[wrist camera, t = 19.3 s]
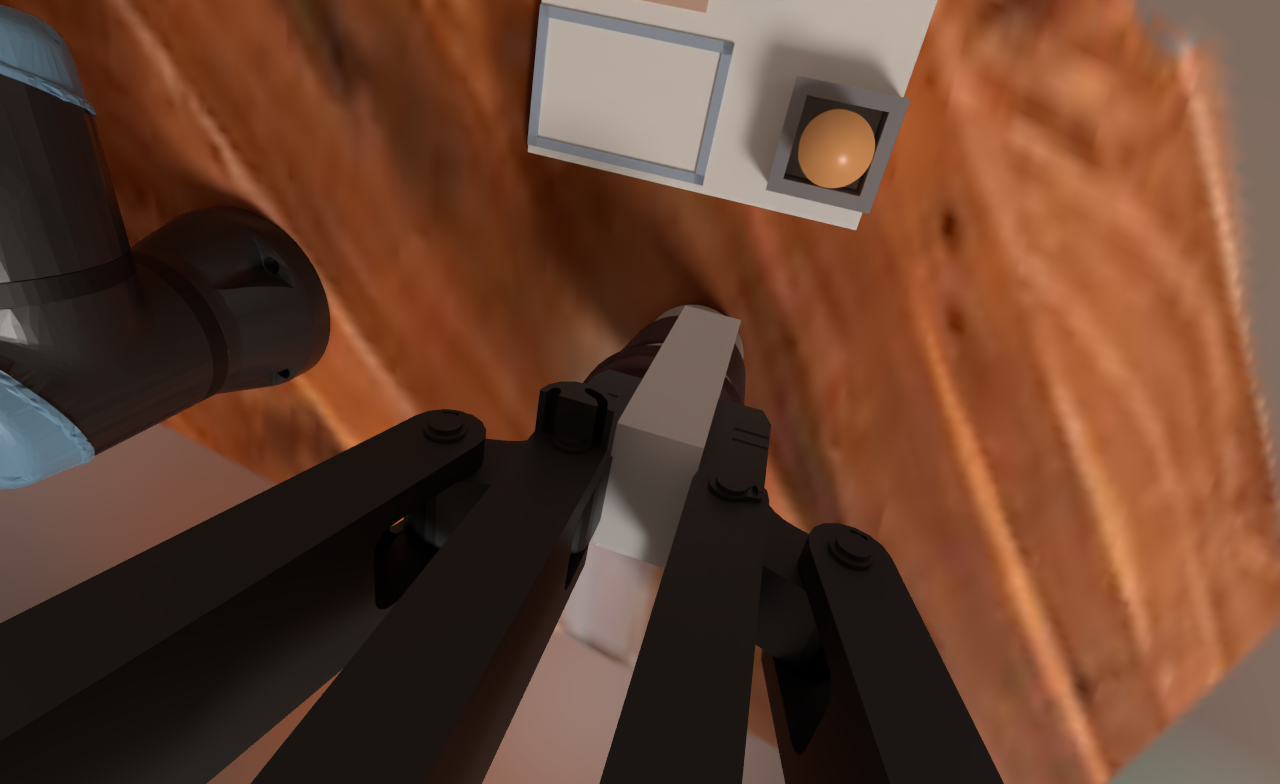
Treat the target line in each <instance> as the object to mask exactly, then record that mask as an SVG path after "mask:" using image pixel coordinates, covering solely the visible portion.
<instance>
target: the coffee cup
mask: <svg viewBox="0 0 1280 784" xmlns="http://www.w3.org/2000/svg"><path fill="white" fill-rule="evenodd" d="M686 306H690V307H693V308H697V309H701V310H705V311H709V312H712V313H716V314H720V315H723V314H721V313H719V312H718V311H716V310H714V309H711V308H709V307H706V306H701V305H686ZM684 307H685V305H682V306H678V307H674V308H672V309H670V310H668V311H666V312H664V313H663V314H661V315H660V316H659V317H658V318H657V319H656V320H655V321H654V322H652V323H651V324H649V325H648V326H646V327H645V328H644V329H642V330H641V331H640V332H639V333H638V334H637V335H636V336H635V337H634V338H633V339H632V340H631V341H630V342H629V343H628V344H627V345H626V346H625V347H624V348H623V349H622V350H621V351H620V352H618V353H616V354H614V355H612V356H610V357H608V358H607V359H606V360H604V361H603V362H601V363H600V364H599V365H598V366H597V367H596V368H595V369H594V370H593V371H592V372H591V373H590V375H589V376H588V377H587V378H586V380H585V381H584V382H583V383H585V384H588V383H589V381H590V380H591V379H592V377H593V376H595V375H597V374H599V373H602V372H604V371H606V370H609V369H610V370H614V371H617V372H621V373H624V374H628V375H631V376H635V377H639V378H642V379H643V377H644V376H645V374H646V372H647V371H648V369H649V367H650V365H651V364H652V362H653V360H654V359H655V357H656V355H657V353H658V352H659V350H660V348H661V346H662V345H663V343H664V341H665V340H666V338H667V336H668V334H669V333H670V331H671V329H672V328H673V326H674V324H675V322H676V321H677V319H678V317H679V315H680V314H681V312H682V310H683V309H684ZM743 356H744V353H743V344H742V341H741V338H740V335H739V333H737V337H736V340H735V344H734V347H733V351H732V354H731V358H730V361H729V365H728V368H727V372H726V375H725V379H724V382H723V386H722V389H721V393H720V396H719V399H723V400H726V401H730V402H733V403H737V404H740V405H744V398H745V367H744V362H743Z"/></svg>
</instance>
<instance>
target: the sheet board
mask: <svg viewBox="0 0 1280 784" xmlns="http://www.w3.org/2000/svg"><path fill="white" fill-rule="evenodd" d="M936 3H937V0H542V3H541V4H540V10H539V21H538V32H537V43H536V54H535V65H534V76H533V87H532V98H531V109H530V120H529V131H528V142H527V144H528V152H530V153H534V154H538V155H542V156H547V157H551V158H555V159H559V160H563V161H568V162H572V163H576V164H580V165H584V166H589V167H593V168H597V169H601V170H605V171H610V172H614V173H618V174H622V175H626V176H631V177H635V178H639V179H643V180H647V181H652V182H656V183H660V184H664V185H668V186H673V187H677V188H681V189H685V190H689V191H694V192H698V193H702V194H706V195H710V196H714V197H719V198H723V199H727V200H731V201H735V202H740V203H744V204H748V205H752V206H756V207H761V208H765V209H769V210H773V211H777V212H782V213H786V214H790V215H794V216H798V217H803V218H807V219H811V220H815V221H819V222H824V223H828V224H832V225H836V226H840V227H845V228H849V229H853V230H856V229H857V226H858V223H859V220H860V218H861V215H862V213H866V214H869V213H870V210H871V208H872V205H873V202H874V199H875V196H876V194H877V191H878V188H879V185H880V183H881V180H882V177H883V174H884V171H885V169H886V166H887V163H888V160H889V158H890V155H891V152H892V149H893V146H894V144H895V141H896V138H897V135H898V133H899V130H900V127H901V124H902V121H903V119H904V116H905V113H906V110H907V108H908V105H909V102H910V99H908V98H903V96H904V93H905V91H906V88H907V85H908V82H909V79H910V77H911V74H912V71H913V68H914V65H915V62H916V60H917V57H918V54H919V51H920V48H921V45H922V43H923V40H924V37H925V34H926V31H927V29H928V26H929V23H930V20H931V17H932V14H933V12H934V9H935V6H936ZM833 108H841V109H845V110H849V111H852V112H855V113H857V114H859V115H860V116H862V117H863V118H864V119H865V120H866V121H867V122H868V124H869V125H870V127H871V129H872V131H873V134H874V139H875V150H874V155H873V158H872V161H871V163H870V165H869V167H868V168H867V170H866V171H865V172H864V173H863V175H862V176H861V177H859V178H858V179H857V180H856V181H854V182H853V183H851V184H849V185H846V186H844V187H839V188H825V187H821V186H818V185H816V184H814V183H813V182H811V181H810V180H809V179H808V178H807V177H806V176H805V174H804V173H803V171H802V169H801V167H800V163H799V158H798V149H799V141H800V137H801V134H802V131H803V129H804V128H805V126H806V124H807V123H808V122H809V121H810V120H811V119H812V118H813V117H814V116H815V115H817V114H818V113H820V112H822V111H825V110H828V109H833Z"/></svg>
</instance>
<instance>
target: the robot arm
mask: <svg viewBox="0 0 1280 784" xmlns="http://www.w3.org/2000/svg"><path fill="white" fill-rule="evenodd" d="M94 116H97V114H96V110H95V108H94V106H93V105H92V104H91V103H90V102H89V101H88V100H87V97H86V94H85V91H84V88H83V85H82V82H81V79H80V76H79V73H78V70H77V67H76V64H75V61H74V59H73V56H72V53H71V50H70V48H69V46H68V45H67V43H66V42H65V40H64V39H63V38H62V36H61V35H60V34H59V33H58V32H57V31H56V30H55V29H53V28H52V27H51V26H50V25H48V24H47V23H46V22H44V21H42V20H41V19H39V18H37V17H35V16H33V15H31V14H29V13H26V12H24V11H21V10H18V9H14V8H11V7H7V6H4V5H0V489H13V488H19V487H23V486H27V485H30V484H33V483H36V482H38V481H40V480H43V479H45V478H48V477H50V476H52V475H55V474H57V473H59V472H62V471H64V470H67V469H69V468H72V467H74V466H76V465H82V464H85V463H88V462H89V461H91V460H92V459H93V457H94V456H96V455H98V454H100V453H102V452H104V451H105V450H107V449H109V448H111V447H113V446H115V445H117V444H119V443H121V442H123V441H125V440H127V439H129V438H131V437H133V436H135V435H136V434H139V433H141V432H143V431H145V430H146V429H148V428H150V427H152V426H154V425H156V424H158V423H160V422H162V421H164V420H166V419H168V418H170V417H172V416H174V415H176V414H178V413H180V412H182V411H183V410H185V409H187V408H189V407H191V406H193V405H195V404H197V403H199V402H201V401H203V400H205V399H207V398H209V397H211V396H213V395H215V394H220V393H227V392H234V391H241V390H248V389H255V388H262V387H269V386H275V385H279V384H282V383H285V382H288V381H290V380H292V379H294V378H295V377H297V376H299V375H301V374H303V373H305V372H306V371H308V370H310V369H311V368H312V367H313V366H315V365H316V364H317V362H318V361H319V360H320V359H321V357H322V355H323V354H324V352H325V349H326V347H327V344H328V340H329V334H330V315H329V308H328V304H327V299H326V296H325V293H324V290H323V287H322V285H321V283H320V280H319V278H318V276H317V274H316V272H315V271H314V269H313V267H312V265H311V264H310V262H309V261H308V259H307V258H306V257H305V255H304V254H303V253H302V251H301V250H300V249H299V248H298V246H297V245H296V244H295V243H294V242H293V241H292V240H291V239H290V238H289V237H288V236H287V235H286V234H285V233H284V232H282V231H281V230H280V229H279V228H277V227H276V226H275V225H273V224H272V223H270V222H269V221H267V220H266V219H264V218H262V217H260V216H258V215H256V214H254V213H252V212H249V211H247V210H243V209H240V208H235V207H228V206H218V207H211V208H206V209H201V210H195V211H191V212H187V213H185V214H182V215H180V216H177V217H176V218H174V219H172V220H171V221H169V222H168V223H167V224H166V225H164V226H162V227H161V228H159V229H158V230H156V231H155V232H153V233H151V234H150V235H148V236H147V237H145V238H144V239H142V240H141V241H139V242H138V243H136V244H135V245H134V246H132V247H131V248H130V245H129V241H128V238H127V234H126V230H125V227H124V223H123V220H122V216H121V212H120V209H119V205H118V202H117V198H116V195H115V191H114V187H113V184H112V180H111V177H110V173H109V169H108V166H107V162H106V159H105V155H104V151H103V148H102V144H101V141H100V137H99V133H98V130H97V126H96V123H95V119H94ZM740 323H741V320H739V319H735V318H731V317H728V316H724V315H720V314H716V313H712V312H709V311H705V310H701V309H697V308H693V307H690V306H686V305H685V307H684V309H683V310H682V312H681V314H680V315H679V317H678V319H677V321H676V322H675V324H674V326H673V328H672V329H671V331H670V333H669V334H668V336H667V338H666V340H665V341H664V343H663V345H662V346H661V348H660V350H659V352H658V353H657V355H656V357H655V359H654V360H653V362H652V364H651V365H650V367H649V369H648V371H647V372H646V374H645V376H644V377H643V379H642V378H639V377H635V376H631V375H628V374H624V373H621V372H617V371H614V370H610V369H609V370H606V371H604V372H602V373H599V374H597V375H595V376H593V377H592V379H591V380H590V381H589V383H588V384H585V383H579V382H557V383H553V384H549V385H547V386H545V387H544V388H542V389H541V390H540V395H539V403H538V411H537V419H536V427H535V431H534V433H533V434H532V435H531V436H530V438H529V439H528V440H527V441H503V440H493V439H485V437H486V429H485V427H484V425H483V423H482V421H480V420H479V419H477V418H476V417H474V416H473V415H471V414H467V413H464V412H461V411H457V410H449V409H442V410H433V411H427V412H424V413H421V414H418V415H416V416H414V417H412V418H410V419H408V420H406V421H404V422H402V423H400V424H398V425H396V426H394V427H392V428H390V429H388V430H386V431H384V432H382V433H380V434H378V435H376V436H374V437H372V438H370V439H368V440H366V441H364V442H362V443H360V444H358V445H356V446H354V447H352V448H350V449H348V450H346V451H344V452H342V453H340V454H338V455H336V456H334V457H332V458H330V459H328V460H326V461H324V462H322V463H320V464H318V465H316V466H314V467H312V468H310V469H308V470H306V471H304V472H302V473H300V474H298V475H296V476H294V477H292V478H290V479H288V480H286V481H284V482H282V483H280V484H278V485H276V486H274V487H272V488H270V489H268V490H266V491H264V492H262V493H260V494H258V495H256V496H254V497H252V498H250V499H248V500H246V501H244V502H242V503H240V504H238V505H236V506H234V507H232V508H230V509H228V510H226V511H224V512H222V513H220V514H218V515H216V516H214V517H212V518H210V519H208V520H206V521H204V522H202V523H200V524H198V525H196V526H194V527H192V528H190V529H188V530H186V531H184V532H182V533H180V534H178V535H176V536H174V537H172V538H170V539H168V540H166V541H164V542H162V543H160V544H158V545H156V546H154V547H152V548H150V549H148V550H146V551H144V552H142V553H140V554H138V555H136V556H134V557H132V558H130V559H128V560H126V561H124V562H122V563H120V564H118V565H116V566H114V567H112V568H110V569H108V570H106V571H104V572H102V573H100V574H98V575H96V576H94V577H92V578H90V579H88V580H86V581H84V582H82V583H80V584H78V585H76V586H74V587H72V588H70V589H68V590H66V591H64V592H62V593H60V594H58V595H56V596H54V597H52V598H50V599H48V600H46V601H44V602H42V603H40V604H38V605H36V606H34V607H32V608H30V609H28V610H26V611H24V612H22V613H20V614H18V615H16V616H14V617H12V618H10V619H8V620H6V621H4V622H2V623H0V784H206V783H208V782H209V781H210V780H211V779H212V778H214V777H215V776H216V775H217V774H218V773H219V772H221V771H222V770H223V769H224V768H226V767H227V766H228V765H229V764H230V763H231V762H232V761H234V760H235V759H236V758H237V757H239V756H240V755H241V754H242V753H243V752H245V751H246V750H247V749H248V748H249V747H250V746H251V745H253V744H254V743H255V742H256V741H257V740H259V739H260V738H261V737H262V736H264V735H265V734H266V733H267V732H268V731H269V730H271V729H272V728H273V727H274V726H275V725H277V724H278V723H279V722H280V721H281V720H283V719H284V718H285V717H286V716H287V715H288V714H290V713H291V712H292V711H293V710H294V709H296V708H297V707H298V706H299V705H300V704H302V703H303V702H304V701H305V700H306V699H308V698H309V697H310V696H311V695H312V694H313V693H315V692H316V691H317V690H318V689H319V688H321V687H322V686H323V685H324V684H325V683H326V682H328V681H329V680H330V679H331V678H332V677H334V676H335V675H336V674H337V673H338V672H340V671H341V670H342V669H343V670H342V671H341V672H340V673H339V675H338V676H337V677H336V678H335V680H334V681H333V682H332V683H331V685H330V686H329V687H328V689H326V691H325V692H324V693H323V694H322V696H321V697H320V698H319V699H318V701H317V702H316V703H315V704H314V706H313V707H312V708H311V709H310V711H309V712H308V713H307V714H306V716H305V717H304V718H303V719H302V720H301V722H300V723H299V724H298V725H297V727H296V728H295V729H294V730H293V732H292V733H291V734H290V735H289V737H288V738H287V739H286V740H285V742H284V743H283V744H282V745H281V747H280V748H279V749H278V750H277V751H276V753H275V754H274V755H273V756H272V758H271V759H270V760H269V761H268V763H267V764H266V765H265V766H264V768H263V769H262V770H261V771H260V773H259V774H258V775H257V776H256V778H255V779H254V780H253V781H252V783H251V784H482V782H483V780H484V778H485V775H486V774H487V772H488V769H489V767H490V765H491V763H492V761H493V759H494V756H495V755H496V752H497V750H498V748H499V746H500V744H501V742H502V739H503V737H504V735H505V733H506V731H507V729H508V727H509V725H510V723H511V720H512V718H513V716H514V714H515V712H516V710H517V707H518V705H519V703H520V701H521V699H522V697H523V695H524V693H525V690H526V688H527V686H528V684H529V682H530V680H531V678H532V675H533V674H534V671H535V669H536V667H537V665H538V663H539V661H540V659H541V656H542V654H543V652H544V650H545V648H546V646H547V644H548V642H549V639H550V637H551V635H552V633H553V631H554V629H555V627H556V625H557V622H558V620H559V618H560V616H561V614H562V612H563V610H564V607H565V605H566V603H567V601H568V599H569V597H570V595H571V593H572V590H573V588H574V586H575V584H576V582H577V580H578V578H579V576H580V573H581V571H582V569H583V567H584V565H585V561H586V556H587V550H588V545H589V542H590V540H591V538H592V536H593V534H594V532H595V530H596V533H595V538H594V543H593V545H595V546H598V547H602V548H605V549H608V550H611V551H614V552H617V553H620V554H623V555H626V556H629V557H633V558H636V559H639V560H642V561H645V562H648V563H651V564H654V565H657V566H660V567H664V568H665V570H664V573H663V576H662V580H661V583H660V586H659V589H658V593H657V596H656V599H655V603H654V606H653V609H652V613H651V616H650V619H649V622H648V626H647V629H646V632H645V636H644V639H643V642H642V645H641V649H640V652H639V655H638V659H637V662H636V665H635V668H634V672H633V675H632V678H631V682H630V685H629V688H628V692H627V695H626V698H625V701H624V705H623V708H622V711H621V715H620V718H619V721H618V724H617V728H616V731H615V734H614V738H613V741H612V744H611V748H610V751H609V754H608V757H607V761H606V764H605V767H604V770H603V774H602V777H601V781H600V784H742V777H743V767H744V756H745V745H746V736H747V725H748V715H749V704H750V694H751V684H752V673H753V663H754V652H755V644H756V645H757V646H759V647H760V648H762V654H761V661H762V666H763V671H764V676H765V681H766V686H767V692H768V697H769V702H770V707H771V712H772V717H773V723H774V728H775V733H776V738H777V743H778V748H779V753H780V759H781V764H782V769H783V774H784V779H785V784H1004V783H1003V781H1002V779H1001V777H1000V775H999V773H998V771H997V769H996V767H995V765H994V763H993V761H992V759H991V757H990V755H989V753H988V751H987V749H986V747H985V745H984V743H983V741H982V739H981V737H980V735H979V733H978V731H977V729H976V727H975V724H974V722H973V720H972V718H971V716H970V714H969V712H968V710H967V708H966V706H965V704H964V702H963V700H962V698H961V696H960V694H959V692H958V690H957V688H956V686H955V684H954V682H953V680H952V678H951V676H950V674H949V672H948V670H947V668H946V666H945V664H944V662H943V660H942V658H941V656H940V654H939V652H938V650H937V648H936V646H935V644H934V642H933V640H932V638H931V636H930V634H929V632H928V630H927V628H926V626H925V624H924V622H923V620H922V618H921V616H920V614H919V612H918V610H917V608H916V606H915V604H914V602H913V600H912V598H911V596H910V594H909V592H908V590H907V588H906V586H905V584H904V582H903V580H902V578H901V576H900V574H899V572H898V570H897V568H896V566H895V564H894V562H893V560H892V558H891V557H890V555H889V554H888V552H887V551H886V550H885V548H884V547H883V546H882V545H881V544H880V543H878V542H877V541H876V540H875V539H873V538H872V537H871V536H870V535H868V534H866V533H864V532H862V531H860V530H858V529H856V528H854V527H850V526H846V525H843V524H839V523H824V524H821V525H818V526H816V527H814V528H813V529H812V531H811V532H810V534H808V533H806V532H804V531H802V530H800V529H798V528H797V527H795V526H793V525H791V524H790V523H788V522H787V521H785V520H784V519H782V518H781V517H780V516H779V515H778V514H777V513H775V512H774V510H773V509H772V508H771V507H770V505H769V498H768V493H767V490H766V489H765V488H764V485H765V476H766V466H767V457H768V448H769V438H770V429H771V424H770V422H769V421H768V419H767V417H766V415H765V414H764V412H763V411H762V410H758V409H755V408H751V407H747V406H744V405H740V404H737V403H733V402H730V401H726V400H723V399H719V396H720V393H721V389H722V386H723V382H724V379H725V375H726V372H727V368H728V365H729V361H730V358H731V354H732V351H733V347H734V344H735V340H736V337H737V333H738V330H739V326H740ZM403 517H404V520H402V521H401V522H399V523H398V524H396V525H394V526H392V525H393V524H394V523H396V522H397V521H399V520H400V519H402V518H403ZM391 526H392V527H391Z"/></svg>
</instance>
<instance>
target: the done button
mask: <svg viewBox="0 0 1280 784" xmlns="http://www.w3.org/2000/svg"><path fill="white" fill-rule="evenodd" d="M874 150H875V139H874V134H873V131H872V129H871V127H870V125H869V124H868V122H867V121H866V120H865V119H864V118H863V117H862V116H860V115H859V114H857V113H855V112H852V111H849V110H845V109H841V108H833V109H828V110H825V111H822V112H820V113H818V114H817V115H815V116H814V117H813V118H812V119H811V120H810V121H809V122H808V123H807V124H806V126H805V128H804V129H803V131H802V134H801V137H800V141H799V149H798V158H799V163H800V167H801V169H802V171H803V173H804V174H805V176H806V177H807V178H808V179H809V180H810V181H811V182H813V183H814V184H816V185H818V186H821V187H825V188H839V187H844V186H846V185H849V184H851V183H853V182H854V181H856V180H857V179H858V178H859V177H861V176H862V175H863V173H864V172H865V171H866V170H867V168H868V167H869V165H870V163H871V161H872V158H873V155H874Z"/></svg>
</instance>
